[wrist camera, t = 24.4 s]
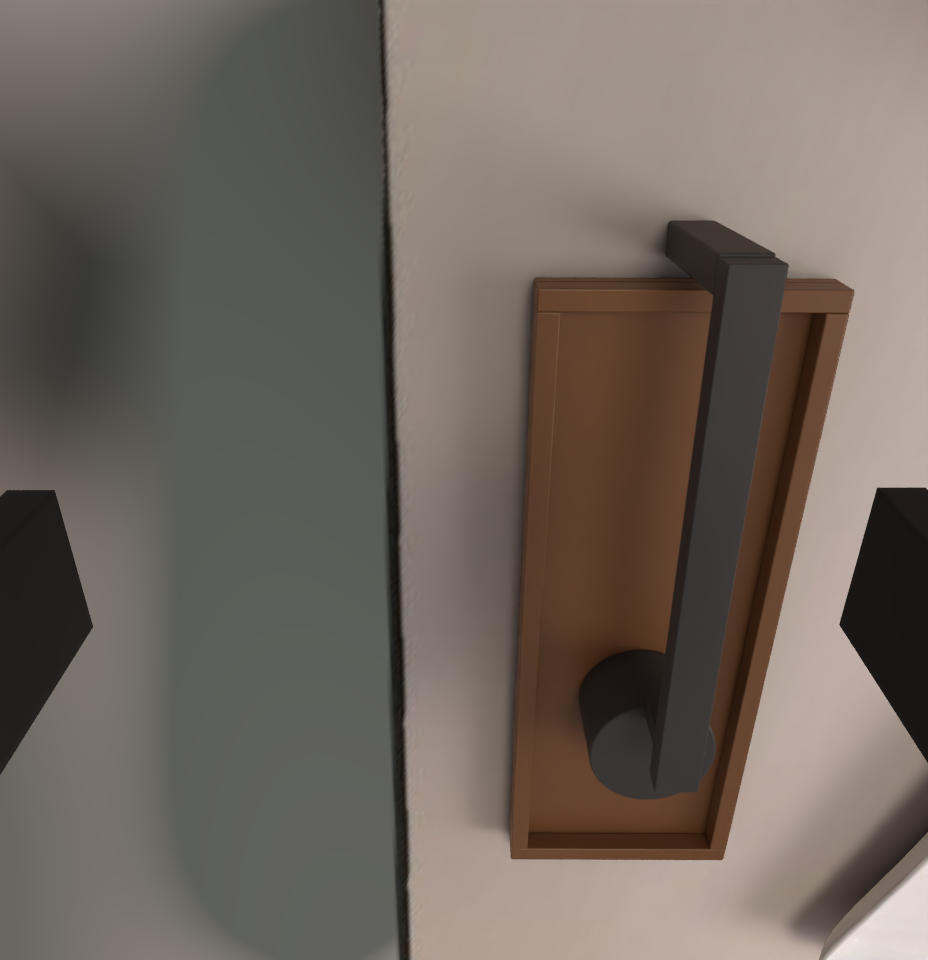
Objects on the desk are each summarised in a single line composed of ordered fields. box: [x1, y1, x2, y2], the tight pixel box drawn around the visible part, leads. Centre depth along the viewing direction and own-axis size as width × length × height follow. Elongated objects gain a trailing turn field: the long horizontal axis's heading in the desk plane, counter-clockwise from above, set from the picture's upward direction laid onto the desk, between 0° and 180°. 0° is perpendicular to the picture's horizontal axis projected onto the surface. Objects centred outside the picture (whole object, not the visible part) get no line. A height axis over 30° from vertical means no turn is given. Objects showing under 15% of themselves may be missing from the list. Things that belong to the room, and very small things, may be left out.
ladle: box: [579, 221, 789, 800], centre depth 29 cm, size 23×5×7 cm, turn 0°
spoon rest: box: [509, 278, 854, 860], centre depth 34 cm, size 29×11×2 cm, turn 0°
